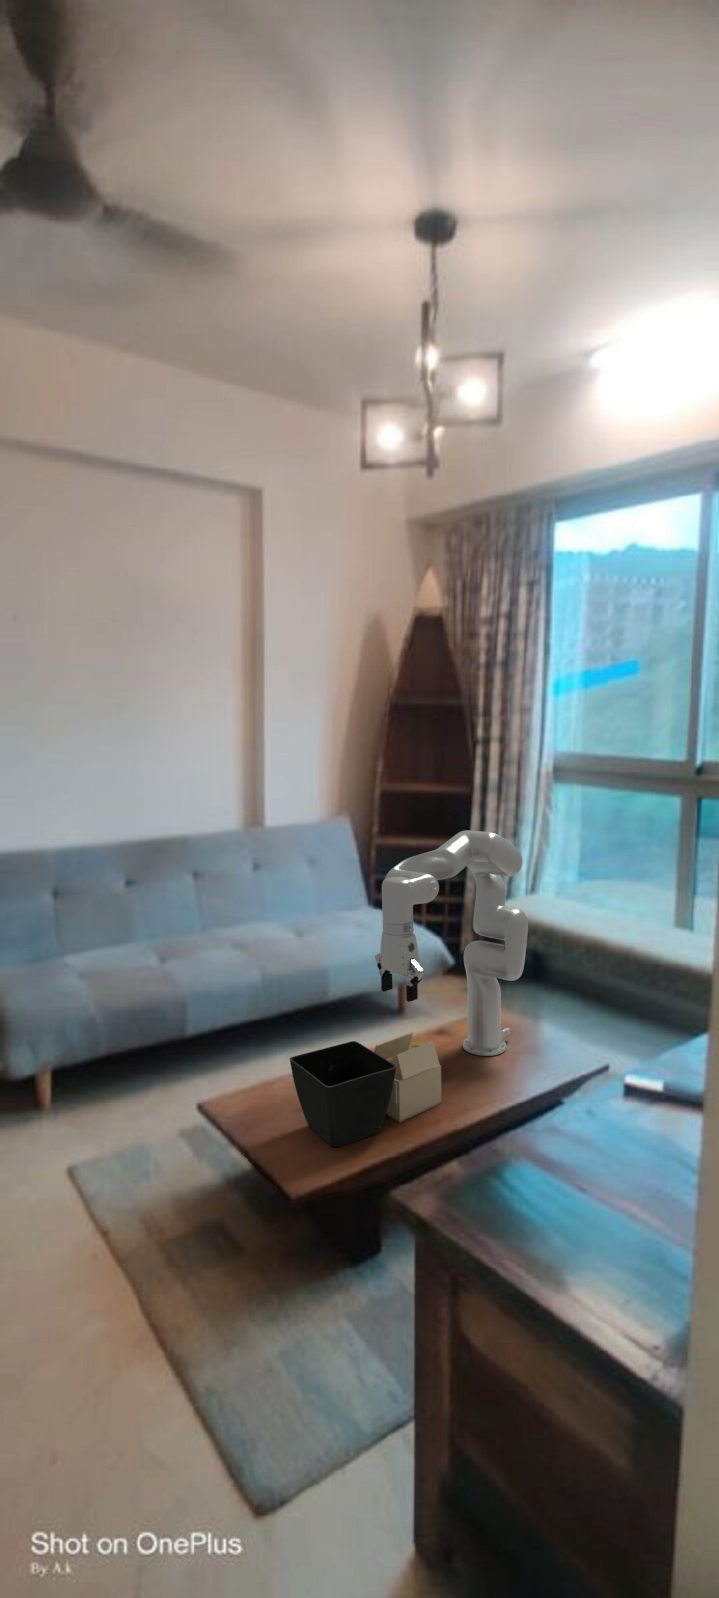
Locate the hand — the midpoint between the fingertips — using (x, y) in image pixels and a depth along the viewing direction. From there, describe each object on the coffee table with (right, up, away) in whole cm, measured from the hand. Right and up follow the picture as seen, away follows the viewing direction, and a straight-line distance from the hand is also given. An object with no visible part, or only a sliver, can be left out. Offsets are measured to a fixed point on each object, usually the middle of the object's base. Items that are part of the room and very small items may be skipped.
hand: (399, 995), depth 197 cm
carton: (+6, -26, +24) cm, 36 cm away
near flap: (+4, -15, -3) cm, 16 cm away
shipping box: (+2, -28, +2) cm, 28 cm away
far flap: (-1, -15, +4) cm, 15 cm away
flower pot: (-14, -30, -9) cm, 34 cm away
